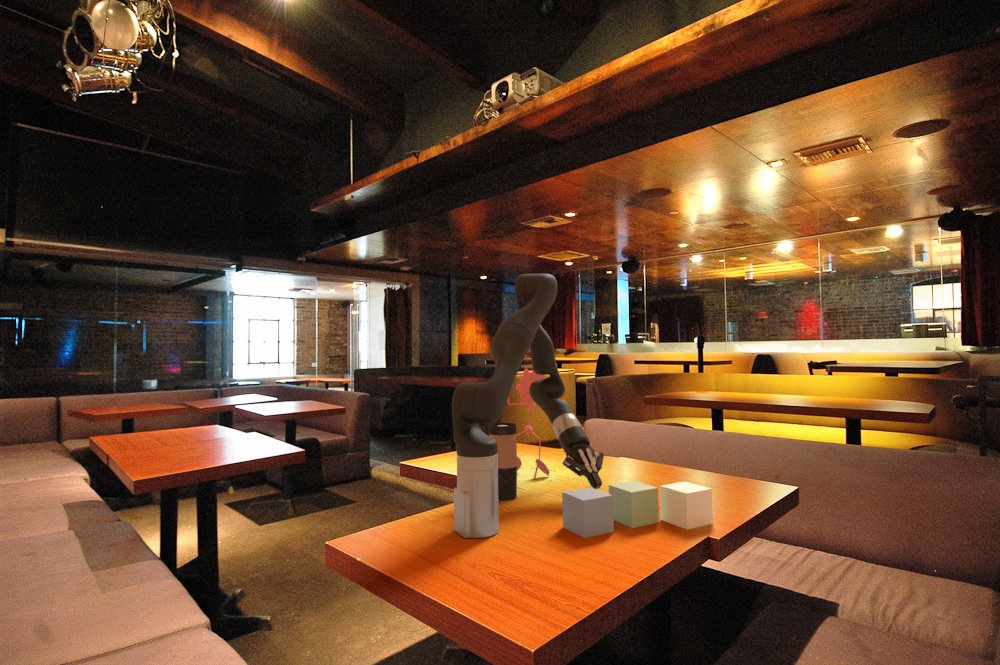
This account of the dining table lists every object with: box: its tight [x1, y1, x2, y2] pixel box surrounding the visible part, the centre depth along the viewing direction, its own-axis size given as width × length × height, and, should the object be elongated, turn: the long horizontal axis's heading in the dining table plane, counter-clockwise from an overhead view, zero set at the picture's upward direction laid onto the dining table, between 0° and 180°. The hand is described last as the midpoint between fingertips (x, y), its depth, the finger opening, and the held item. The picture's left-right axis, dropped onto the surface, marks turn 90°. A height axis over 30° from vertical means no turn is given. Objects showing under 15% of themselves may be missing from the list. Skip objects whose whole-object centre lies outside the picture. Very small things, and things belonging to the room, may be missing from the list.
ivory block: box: [659, 481, 714, 531], centre depth 119 cm, size 8×8×8 cm
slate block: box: [561, 487, 615, 539], centre depth 115 cm, size 8×8×8 cm
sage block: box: [608, 480, 660, 529], centre depth 121 cm, size 8×8×8 cm
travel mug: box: [488, 422, 518, 502], centre depth 143 cm, size 8×8×20 cm
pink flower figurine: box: [507, 368, 561, 482], centre depth 171 cm, size 15×26×35 cm, turn 52°
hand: (598, 487), depth 133 cm, fingers closed
